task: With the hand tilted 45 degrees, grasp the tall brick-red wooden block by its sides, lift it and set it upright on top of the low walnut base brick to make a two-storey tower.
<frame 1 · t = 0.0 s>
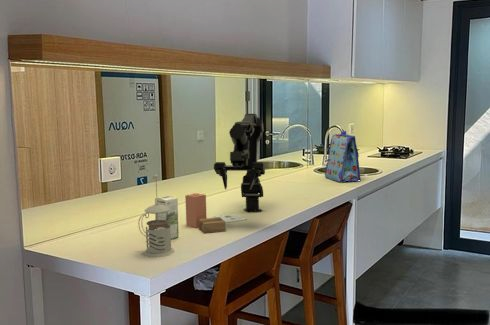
hand: (237, 189, 185), 15 cm above the worktop, tool tilted 35°, fingers open, 9 cm apart
tall brick: (196, 225, 193), on the worktop
base brick: (212, 229, 187), on the worktop
instruction sheet: (230, 218, 204), on the worktop
lunch bag: (342, 180, 296), on the worktop
french press: (156, 252, 161), on the worktop
syrup box: (167, 238, 177), on the worktop
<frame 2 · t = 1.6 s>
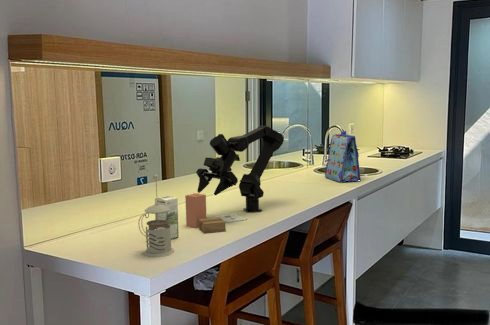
hand: (206, 193, 196), 12 cm above the worktop, tool tilted 45°, fingers open, 9 cm apart
nothing on the worktop moved.
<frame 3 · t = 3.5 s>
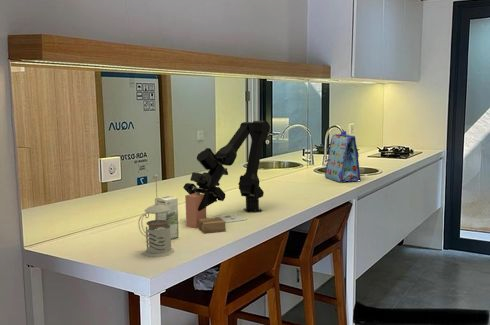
hand: (193, 209, 192), 7 cm above the worktop, tool tilted 45°, fingers closed on tall brick, 5 cm apart
tall brick: (196, 225, 193), on the worktop, touching gripper
everything else where it was.
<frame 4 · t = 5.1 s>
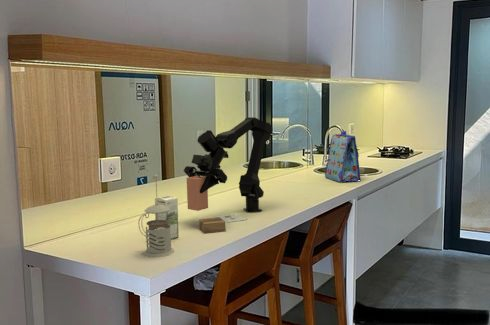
hand: (194, 192, 190), 14 cm above the worktop, tool tilted 45°, fingers closed on tall brick, 5 cm apart
tall brick: (198, 208, 191), point 7 cm above the worktop, touching gripper
everything else where it was.
when the fingers open (11 cm above the worktop, at t = 6.9 s): tall brick drops 1 cm, resting on base brick.
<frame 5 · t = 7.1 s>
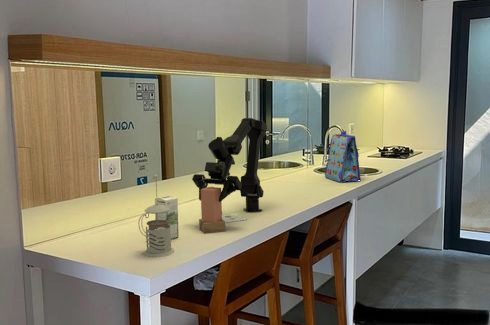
hand: (209, 200, 184), 11 cm above the worktop, tool tilted 45°, fingers open, 8 cm apart
tall brick: (211, 220, 186), point 3 cm above the worktop, touching base brick
everything else where it was.
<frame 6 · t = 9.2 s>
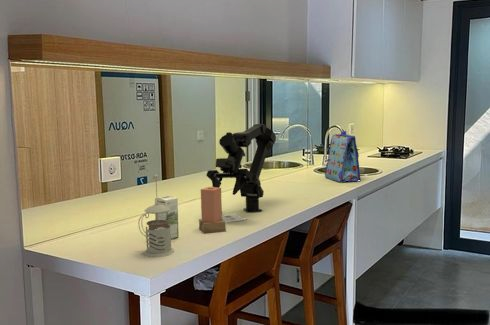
hand: (223, 194, 194), 12 cm above the worktop, tool tilted 40°, fingers open, 9 cm apart
nothing on the worktop moved.
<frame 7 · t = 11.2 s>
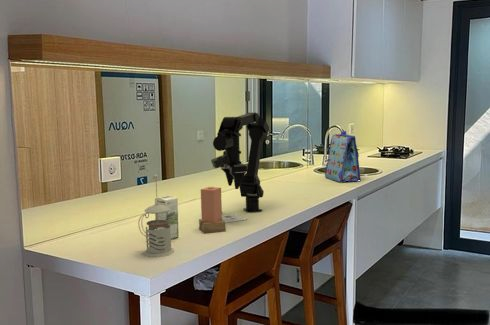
hand: (233, 187, 201), 13 cm above the worktop, tool pointing down, fingers open, 9 cm apart
nothing on the worktop moved.
at the end: tall brick inside the target area on the base brick (0.0 cm from its centre), point 3.5 cm above the base brick's base; tall brick tilted 0°; the gripper is holding nothing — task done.
